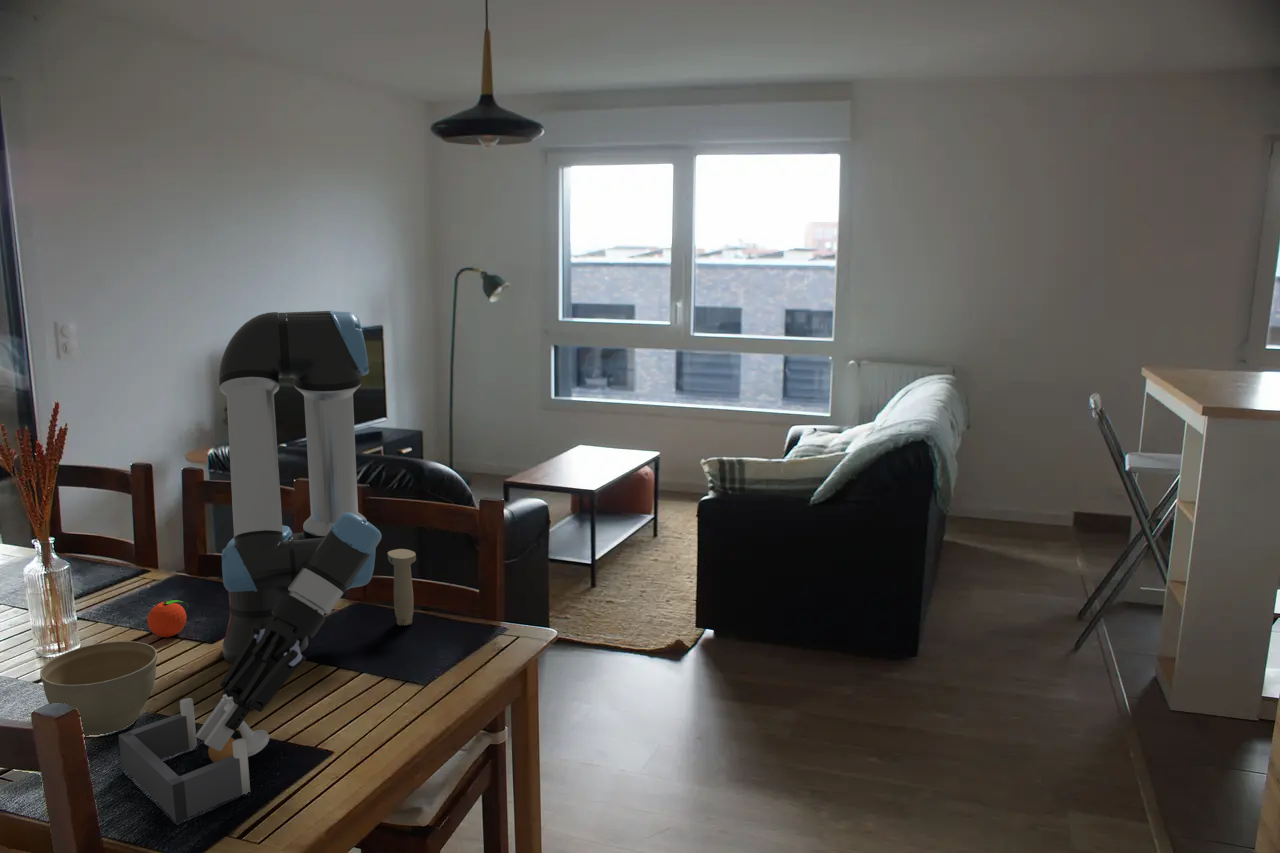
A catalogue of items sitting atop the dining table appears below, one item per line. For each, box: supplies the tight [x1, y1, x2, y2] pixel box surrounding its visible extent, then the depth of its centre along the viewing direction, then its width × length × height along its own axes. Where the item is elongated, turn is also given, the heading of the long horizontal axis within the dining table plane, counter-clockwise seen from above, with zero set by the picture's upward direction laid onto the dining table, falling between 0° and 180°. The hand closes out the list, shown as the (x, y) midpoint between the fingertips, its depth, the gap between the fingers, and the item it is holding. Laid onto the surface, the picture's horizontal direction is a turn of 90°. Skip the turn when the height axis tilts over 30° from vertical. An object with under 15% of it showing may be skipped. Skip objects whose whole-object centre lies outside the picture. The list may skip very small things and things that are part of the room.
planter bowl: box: [39, 640, 158, 738], centre depth 148 cm, size 16×16×11 cm
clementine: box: [146, 599, 189, 638], centre depth 183 cm, size 8×7×7 cm
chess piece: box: [220, 694, 270, 758], centre depth 138 cm, size 5×5×10 cm
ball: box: [207, 736, 236, 763], centre depth 138 cm, size 4×4×4 cm
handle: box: [387, 548, 417, 627], centre depth 189 cm, size 5×6×15 cm
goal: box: [118, 697, 251, 822], centre depth 133 cm, size 10×19×8 cm, turn 48°
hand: (207, 743), depth 135 cm, fingers closed on chess piece, 2 cm apart
